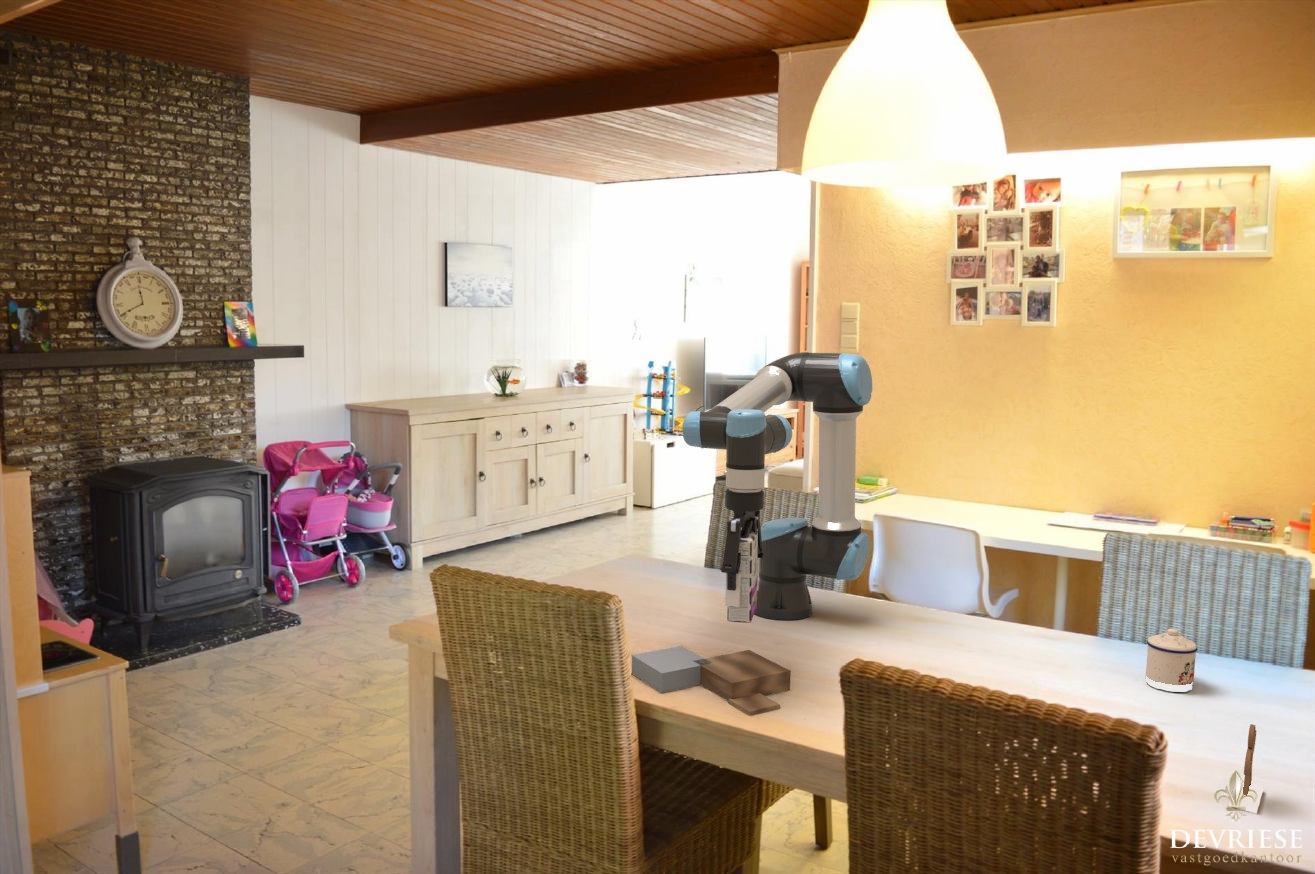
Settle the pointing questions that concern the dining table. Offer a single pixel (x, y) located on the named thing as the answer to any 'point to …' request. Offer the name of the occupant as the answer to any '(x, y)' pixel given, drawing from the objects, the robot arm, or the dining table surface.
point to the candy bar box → (746, 581)
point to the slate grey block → (668, 668)
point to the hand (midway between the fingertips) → (742, 597)
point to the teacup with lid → (1171, 658)
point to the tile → (754, 704)
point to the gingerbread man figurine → (1249, 759)
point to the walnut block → (743, 675)
